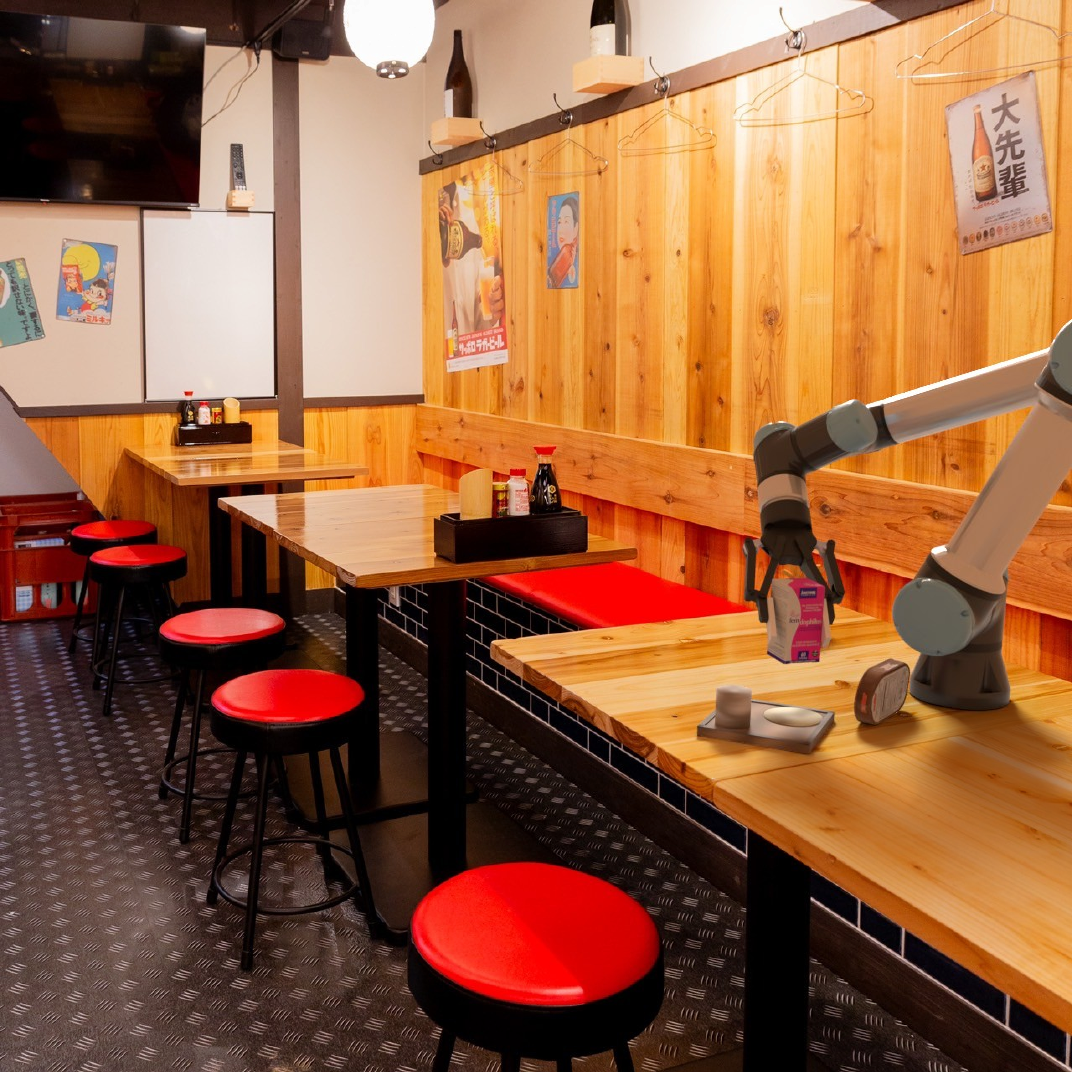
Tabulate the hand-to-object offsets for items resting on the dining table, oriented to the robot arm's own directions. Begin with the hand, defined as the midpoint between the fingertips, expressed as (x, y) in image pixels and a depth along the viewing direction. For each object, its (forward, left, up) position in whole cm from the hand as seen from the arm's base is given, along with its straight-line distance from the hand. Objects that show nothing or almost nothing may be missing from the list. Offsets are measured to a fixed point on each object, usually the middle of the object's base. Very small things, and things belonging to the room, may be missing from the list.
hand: (799, 641), depth 165 cm
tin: (-10, -13, -14) cm, 21 cm away
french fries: (+14, -59, -14) cm, 62 cm away
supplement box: (+1, -3, -4) cm, 5 cm away
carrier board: (+4, 0, -13) cm, 14 cm away
